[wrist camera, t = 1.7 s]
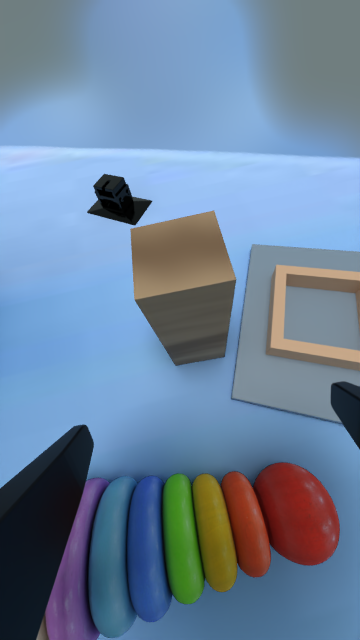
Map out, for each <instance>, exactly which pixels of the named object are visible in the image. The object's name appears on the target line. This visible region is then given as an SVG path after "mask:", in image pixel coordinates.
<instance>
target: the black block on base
mask: <svg viewBox="0 0 360 640" xmlns="http://www.w3.org/2000/svg"><path fill="white" fill-rule="evenodd" d="M93 187H94V189H95V194H96V196H97V198H98V201H97V202H96V203H95V204H94V205H93V206H92V207H91V208H90V209H89V211H88V212H87V213H90V214H94V215H97V216H101V217H105V218H109V219H112V220H116V221H120V222H124V223H128V224H131V225H136V224H137V222H138V221H139V220H140V218H141V217H142V215H143V214H144V212H145V211H146V210H147V208H148V207H149V205H150V204H151V203H152V201H151V200H146V199H141V198H136V197H132V195H131V192H130V189H129V186H128V184H126V183H125V180H124V177H118V176H113V175H107V174H104V175H103V176H102V177H101V178H100V179H99V180H98V181H97V182H96V183H95V184H94V186H93Z"/></svg>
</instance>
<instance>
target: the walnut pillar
mask: <svg viewBox="0 0 360 640" xmlns="http://www.w3.org/2000/svg"><path fill="white" fill-rule="evenodd" d="M131 246H132V264H133V281H134V299H135V301H136V303H137V305H138V306H139V308H140V309H141V311H142V313H143V314H144V316H145V317H146V319H147V321H148V322H149V324H150V325H151V327H152V329H153V330H154V332H155V333H156V335H157V337H158V338H159V340H160V341H161V343H162V345H163V346H164V348H165V349H166V351H167V353H168V354H169V356H170V357H171V359H172V361H173V362H174V364H175V365H182V364H188V363H193V362H199V361H204V360H210V359H216V358H221V357H224V356H225V350H226V343H227V336H228V330H229V323H230V317H231V310H232V304H233V297H234V291H235V284H236V277H235V274H234V271H233V268H232V265H231V262H230V259H229V256H228V253H227V249H226V246H225V243H224V240H223V237H222V234H221V231H220V228H219V225H218V221H217V218H216V215H215V212H214V211H210V212H206V213H201V214H196V215H192V216H187V217H183V218H178V219H174V220H169V221H165V222H160V223H155V224H151V225H146V226H142V227H137V228H133V229H131Z"/></svg>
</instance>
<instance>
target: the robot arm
mask: <svg viewBox="0 0 360 640" xmlns="http://www.w3.org/2000/svg"><path fill="white" fill-rule="evenodd" d="M330 401H331V406H332V408H333V410H334V412H335V413H336V415H337V416H338V418H339V419H340V421H341V422H342V424H343V425H344V427H345V428H346V430H347V431H348V433H349V434H350V436H351V437H352V439H353V440H354V442H355V443H356V445H357V446H358V448H359V449H360V386H357V385H354V384H352V383H349V382H346V381H341V382H335V383H332V384H331V400H330ZM93 447H94V442H93V439H92V436H91V434H90V432H89V429H88V427H87V426H86V425H78V426H74V427H73V428H71V429H70V430H69V431H68V432H67V433H66V434H64V435H63V436H62V437H61V438H60V439H58V440H57V441H56V442H55V443H54V444H52V445H51V446H50V447H49V448H48V449H47V450H45V451H44V452H43V453H42V454H41V455H39V456H38V457H37V458H36V459H35V460H34V461H32V462H31V463H30V464H29V465H28V466H26V467H25V468H24V469H23V470H22V471H20V472H19V473H18V474H17V475H16V476H15V477H13V478H12V479H11V480H10V481H9V482H7V483H6V484H5V485H4V486H3V487H2V488H0V640H36V639H37V636H38V633H39V630H40V627H41V623H42V620H43V617H44V614H45V611H46V608H47V605H48V602H49V598H50V595H51V592H52V589H53V586H54V583H55V580H56V577H57V573H58V570H59V567H60V564H61V561H62V558H63V555H64V552H65V548H66V545H67V542H68V539H69V536H70V533H71V530H72V527H73V523H74V520H75V517H76V514H77V511H78V508H79V505H80V502H81V498H82V495H83V491H84V487H85V483H86V479H87V474H88V470H89V465H90V461H91V456H92V452H93Z"/></svg>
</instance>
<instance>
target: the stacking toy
mask: <svg viewBox="0 0 360 640" xmlns="http://www.w3.org/2000/svg"><path fill="white" fill-rule="evenodd" d="M339 532H340V528H339V519H338V514H337V511H336V508H335V506H334V503H333V501H332V499H331V497H330V495H329V493H328V492H327V490H326V489H325V488H324V486H323V485H322V484H321V482H320V481H319V480H318V479H317V478H316V477H315V476H314V475H312V474H311V473H310V472H308V471H307V470H306V469H304V468H302V467H300V466H297V465H295V464H291V463H275V464H272V465H270V466H268V467H266V468H265V469H264V470H262V471H261V473H260V474H259V475H258V477H257V478H256V480H255V483H254V486H253V488H252V486H251V484H250V482H249V480H248V479H247V478H246V477H245V476H244V475H243V474H242V473H239V472H229V473H228V474H226V475H225V476H224V478H223V479H222V483H221V486H220V485H219V483H218V481H217V480H216V479H215V478H214V477H213V476H212V475H210V474H201V475H199V476H197V477H196V479H195V480H194V482H193V485H191V482H190V480H189V479H188V477H187V476H185V475H184V474H174V475H172V476H171V477H170V478H168V480H167V481H166V483H165V485H164V484H163V482H162V480H161V479H159V478H158V477H156V476H148V477H145V478H143V479H142V480H141V481H140V482H139V483H137V482H136V481H135V480H134V479H133V478H131V477H128V476H122V477H119V478H117V479H115V480H114V481H112V482H111V483H109V482H108V481H107V480H105V479H102V478H93V479H90V480H88V481H86V483H85V487H84V491H83V495H82V498H81V502H80V505H79V508H78V511H77V514H76V517H75V520H74V523H73V527H72V530H71V533H70V536H69V539H68V542H67V545H66V548H65V552H64V555H63V558H62V561H61V564H60V567H59V570H58V573H57V577H56V580H55V583H54V586H53V589H52V592H51V595H50V598H49V602H48V605H47V608H46V611H45V614H44V617H43V620H42V623H41V627H40V630H39V633H38V636H37V639H36V640H97V638H98V636H99V635H100V633H101V634H102V635H103V636H105V637H108V638H115V637H119V636H121V635H123V634H124V633H125V632H127V631H128V629H129V628H130V627H131V626H132V624H133V622H134V621H135V619H136V616H137V614H138V616H139V617H140V618H141V619H142V620H144V621H146V622H155V621H157V620H159V619H160V618H162V617H163V616H164V614H165V613H166V612H167V610H168V608H169V606H170V603H171V599H172V594H173V595H174V597H175V598H176V600H177V601H178V602H180V603H183V604H192V603H194V602H196V601H197V600H198V599H199V597H200V596H201V594H202V592H203V589H204V581H205V578H206V580H207V582H208V583H209V585H210V586H211V587H212V588H213V589H214V590H216V591H218V592H226V591H228V590H230V589H231V588H232V586H233V585H234V583H235V581H236V577H237V563H238V565H239V567H240V568H241V570H242V571H243V572H244V573H246V574H247V575H249V576H251V577H261V576H263V575H264V574H266V572H267V571H268V569H269V566H270V561H271V552H270V545H271V546H272V547H273V548H274V549H275V550H276V551H277V552H278V553H279V554H280V555H282V556H283V557H285V558H286V559H288V560H290V561H292V562H295V563H298V564H302V565H317V564H320V563H323V562H324V561H326V560H327V559H329V558H330V557H331V556H332V554H333V553H334V551H335V549H336V547H337V544H338V541H339ZM269 543H270V544H269Z"/></svg>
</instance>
